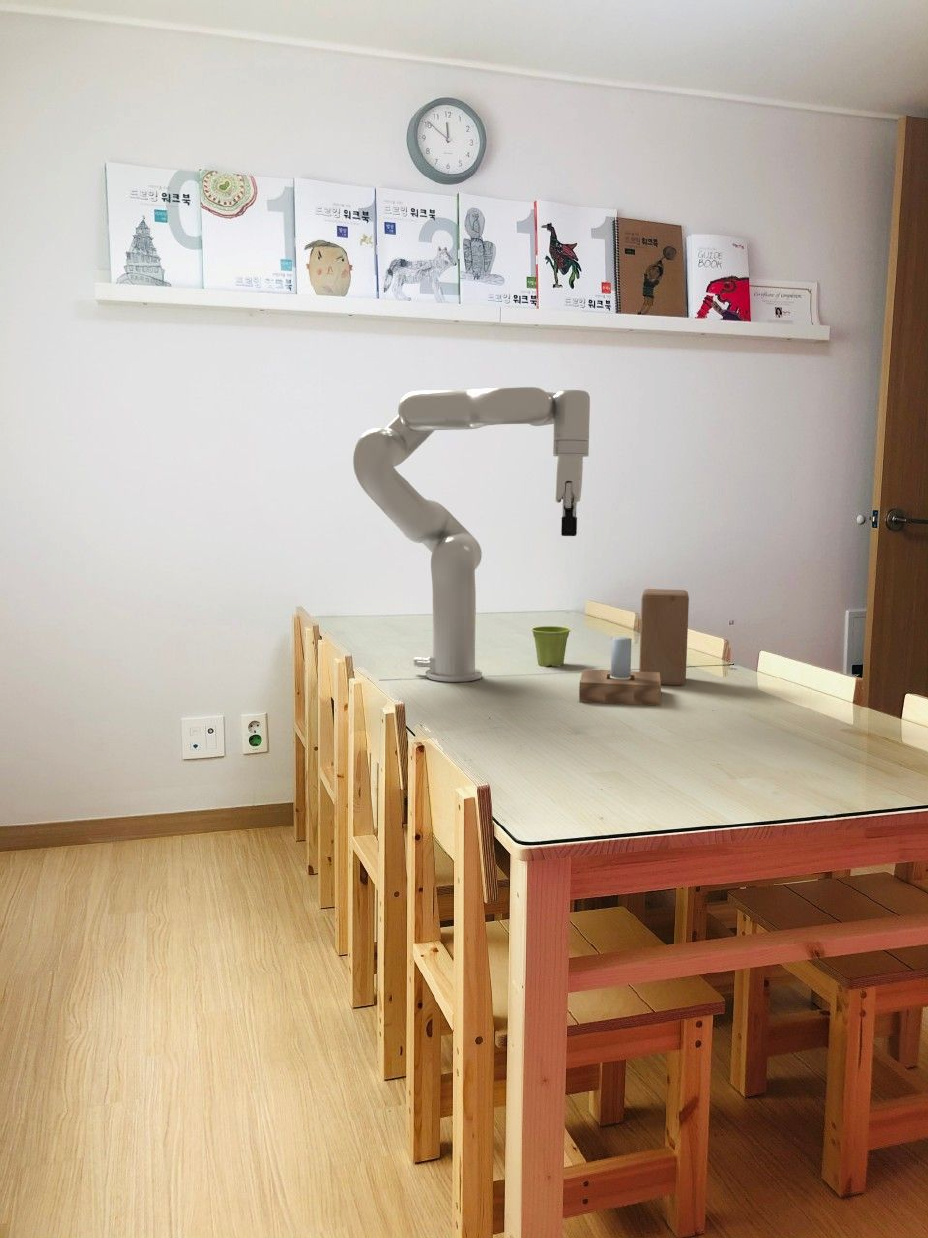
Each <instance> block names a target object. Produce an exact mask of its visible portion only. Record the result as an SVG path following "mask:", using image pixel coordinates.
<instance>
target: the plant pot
mask: <svg viewBox="0 0 928 1238" xmlns="http://www.w3.org/2000/svg"><path fill="white" fill-rule="evenodd" d="M530 630H531V632H532V635H533V637H534V644H535V650H536V658H537V659H536V660H537V664H538V666H543V667H548V666H549V667H550V666H552V667H560V666H563V665H564V664H565V663H564V662H565V656H566V649H567V643H568V638H569V635H570V632H572V631H571V628H570V627H567V626H566V627H565V626H557V625H556V626H554V625H552V626H551V625H550V626H549V625H548V626H547V625H546V626H536V627H535V626H534V627H532V628H531V629H530Z"/></svg>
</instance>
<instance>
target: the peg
mask: <svg viewBox="0 0 928 1238" xmlns="http://www.w3.org/2000/svg"><path fill="white" fill-rule="evenodd" d="M610 648H611V649H610V650H611V652H610V653H611V655H610V670H611V675H610V679H611V680H630V679H631V676H630V672H631V667H632V665H631V662H632V638H630V637H624V636H618V637H617V636H616V637H612V638H611V647H610Z"/></svg>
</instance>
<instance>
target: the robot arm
mask: <svg viewBox="0 0 928 1238" xmlns="http://www.w3.org/2000/svg"><path fill="white" fill-rule="evenodd" d="M590 404H591V397H590V394H589V392H587V391H585V390H581V389H564V390H560V391H557V392H549V391H545V390H544V389H542V388H539V387H534V386H525V387H523V386H521V387H520V386H518V387H516V386H515V387H497V388H496V387H494V388H468V389H467V388H465V389H464V388H463V389H442V390H441V389H440V390H439V389H435V390H432V389H431V390H415V391H414V390H413V391H411V392H407V393H406V394H404V395H403V397H402V398H401V399H400V401H399V404H398V408H397V409H398V410H397V413H398V415H397V416H396V417H395V418H394V419H393V420H391V422H389V424H388V425H387V426H386V427H385V428H384V427H383V428H382V427H378V428H377V427H376V428H371V429H369V430H367V431H365V432H364V433H363V434H362V435H360V437H359V438H358V440H357V442H356V444H355V447H354V452H353V456H352V457H353V463H352V464H353V470H354V474H355V476H356V480H357V482H358V483H359V485H360V487H361V488H362V489H363V491H364V492H365V494H366V495H367V496H368V497H369V498H370V499H371V500H372V502H374V503H375V504H376V506H378V508H379V509H380V510H381V511H382V512H383V513H384V514H385V515H386V517H388V518H389V519H390V521H391V522H392V523H393V524H395V526H396V527H397V528H398V529H399V530H400V531H401V532H402V534H403V535H405V537H407V539H408V540H410V541H412V542H413V543H417V544H423V545H424V546H425V547H426V548H427V550H429V551H430V553H431V557H430V559H431V560H430V572H431V581H432V655H431V656H428V657H427V658H424V657H414V659H413V665H414V667H417V668H427V670H426V671H425V678H427V679H429V680H433V681H438V682H446V683H447V682H449V683H450V682H451V683H460V682H470V681H471V682H473V681H476V680H480V679H482V677H483V671H481V670H480V669H478V668H476V621H477V620H476V618H477V617H476V609H477V608H476V603H477V602H476V599H477V598H476V597H477V596H476V575H475V574H476V573H475V572H476V569H477V568H478V567H479V566H480V564H481V561H482V557H483V556H482V555H483V552H482V548H481V545H480V544H479V541H477V539H476V538H475V537H474V536H473V535H472V534H471V532H469V531H468V529H466V527H464V525H463V524H462V523H461V522H460V521H458V519H456V517H455V516H454V515H453V514H452V513H451V512H450V511H449V510H448V509H447V508H445V506H444V505H442V504H441V503H440V502H438V501H435V500H431V499H426V498H424V497H423V495H422V494H420V493H419V492H418V491H417V490H416V489H415V488H414V487H413V486H412V485H411V483H410V482H409V481H408V480H407V479H406V478H405V477H404V476H402V474H400V473H399V471H398V470H397V469H396V467H397V466H400V465H402V463H404V462H405V461H407V459H409V457H410V456H411V455H412V454H413V453H414V452H415V451H416V450H417V449H418V448H419V447H420V446H421V445H422V444H423V443H424V442H425V441H426V440H427V439H429V437H430V436H431V435H432V434H433V433H434V432H435V431H452V430H453V431H454V430H456V431H458V430H464V431H465V430H477V429H480V428H483V427H487V426H495V425H525V424H526V425H530V426H533V427H534V426H535V427H542V426H549V425H553V446H552V447H553V448H552V450H553V451H552V455H553V457H557V463H556V482H555V483H556V484H555V485H556V486H555V502H556V503H561V502H562V517H561V528H560V529H561V530H560V531H561V533H560V534H561V536H562V537H576V536H577V533H578V526H577V525H578V516H577V505H578V503H579V502H580V501H581V495H582V486H583V470H584V467H583V463H584V459H583V458H585V457H587V458H588V457H589V452H590V451H589V449H590V441H589V440H590V414H591V413H590V410H591V405H590Z"/></svg>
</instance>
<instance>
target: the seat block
mask: <svg viewBox="0 0 928 1238" xmlns="http://www.w3.org/2000/svg"><path fill="white" fill-rule="evenodd" d="M580 675H581V676H580V679H579V688H578V689H579V691H578V692H579V695H578V702H579V703H593V704H595V703H596V704H622V705H640V706H642V705H643V706H661V704H662V703H661V699H662V698H661V697H662V696H661V695H662V685H661V680H660V673H659V672H639V671H636V670H633V671H631V672H630V676H631V679H630V680H611V679H610V675H611V669H609V670H608V669H606V670H604V669H603V670H602V669H582V673H581V674H580Z"/></svg>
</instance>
